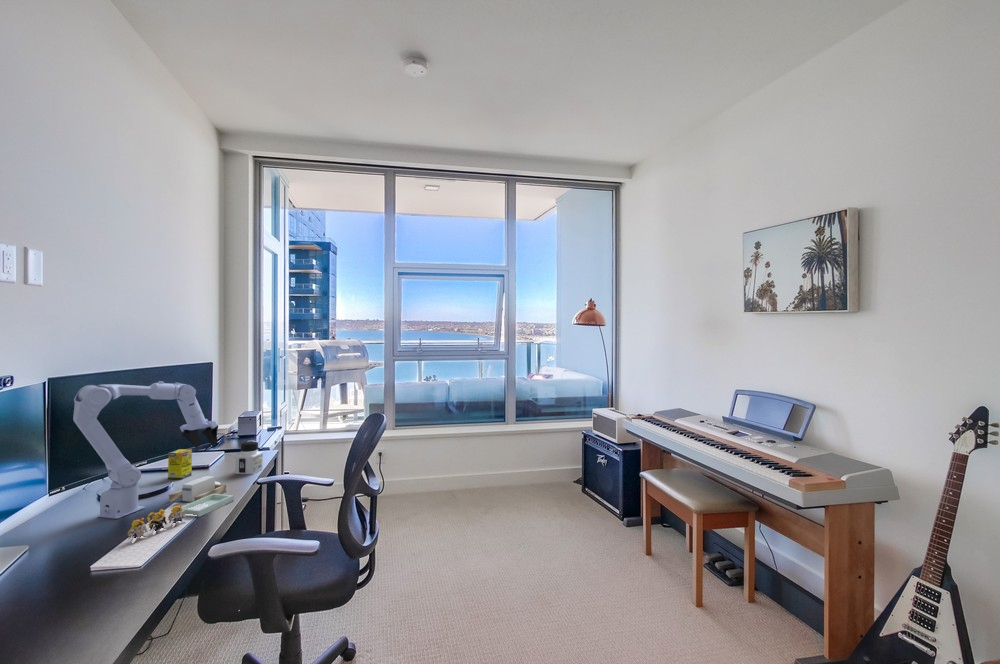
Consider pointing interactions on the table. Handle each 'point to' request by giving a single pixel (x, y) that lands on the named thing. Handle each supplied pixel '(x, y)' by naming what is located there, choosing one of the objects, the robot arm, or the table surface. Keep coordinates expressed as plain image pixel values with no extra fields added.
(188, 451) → the supplement box
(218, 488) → the oak bay
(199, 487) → the white rectangular brick
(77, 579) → the table surface
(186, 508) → the tray
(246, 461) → the container
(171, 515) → the figurine set
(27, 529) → the table surface
